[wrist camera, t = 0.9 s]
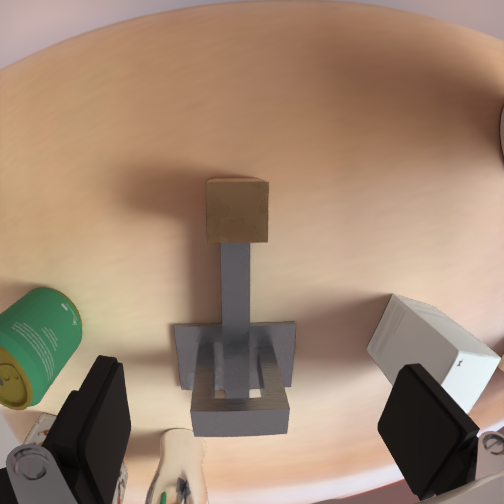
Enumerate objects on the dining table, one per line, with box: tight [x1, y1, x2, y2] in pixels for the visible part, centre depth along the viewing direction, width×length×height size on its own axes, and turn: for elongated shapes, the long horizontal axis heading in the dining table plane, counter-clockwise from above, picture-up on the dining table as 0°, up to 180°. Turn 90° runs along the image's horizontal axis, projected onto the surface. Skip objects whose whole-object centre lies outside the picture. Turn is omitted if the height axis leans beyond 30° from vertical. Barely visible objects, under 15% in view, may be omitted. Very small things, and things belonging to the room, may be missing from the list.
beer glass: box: [145, 429, 209, 504], centre depth 29 cm, size 7×7×15 cm
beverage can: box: [0, 288, 82, 410], centre depth 24 cm, size 8×8×12 cm
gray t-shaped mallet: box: [206, 178, 269, 399], centre depth 27 cm, size 4×24×8 cm, turn 179°
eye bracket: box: [174, 321, 296, 437], centre depth 28 cm, size 12×8×10 cm, turn 89°
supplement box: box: [367, 294, 501, 414], centre depth 28 cm, size 7×7×13 cm
